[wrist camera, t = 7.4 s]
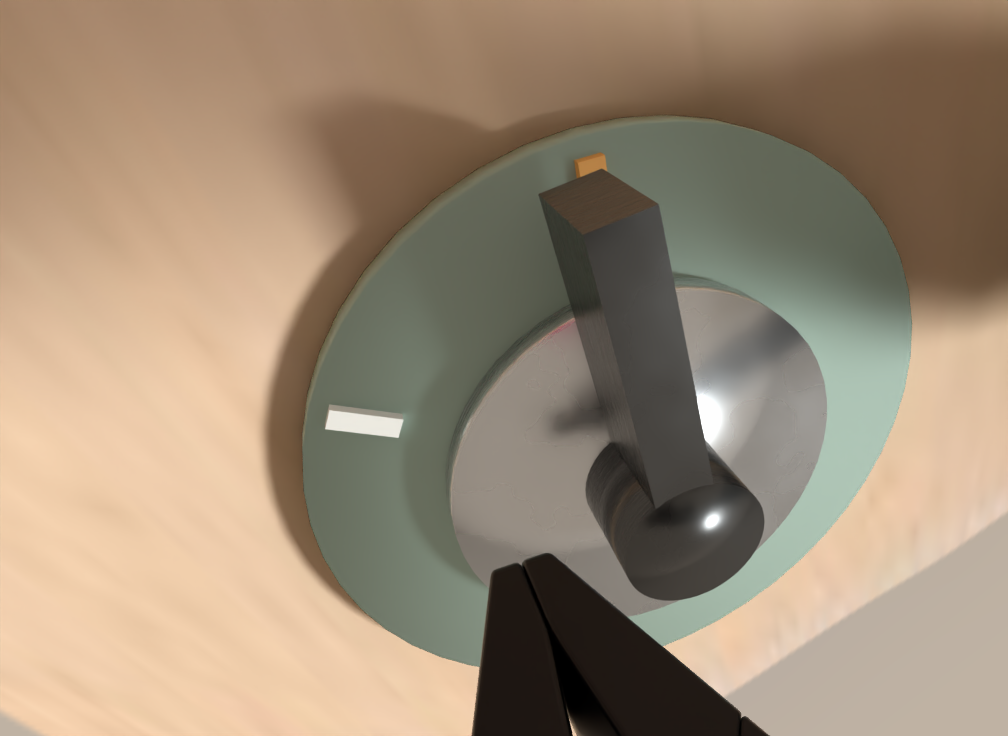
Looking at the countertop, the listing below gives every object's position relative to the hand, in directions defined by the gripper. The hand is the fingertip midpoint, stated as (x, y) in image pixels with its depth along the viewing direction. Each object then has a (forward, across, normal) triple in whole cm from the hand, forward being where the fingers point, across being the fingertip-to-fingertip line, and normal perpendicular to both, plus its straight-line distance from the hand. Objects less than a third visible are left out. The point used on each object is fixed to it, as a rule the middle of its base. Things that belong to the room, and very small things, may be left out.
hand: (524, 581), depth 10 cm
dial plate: (+11, -5, +7) cm, 14 cm away
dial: (+10, -5, +5) cm, 12 cm away
